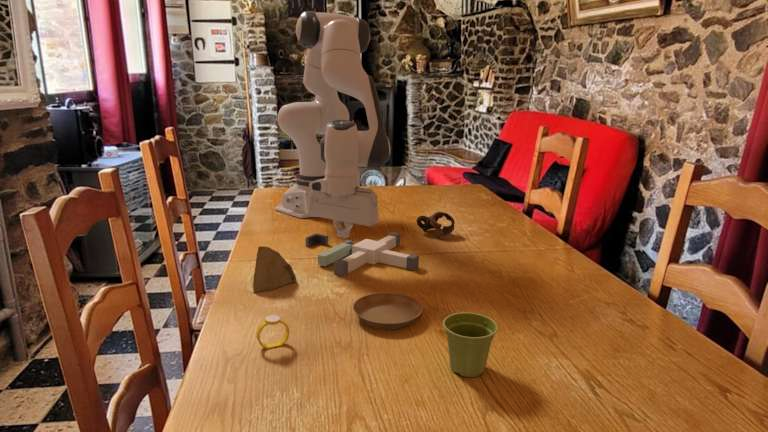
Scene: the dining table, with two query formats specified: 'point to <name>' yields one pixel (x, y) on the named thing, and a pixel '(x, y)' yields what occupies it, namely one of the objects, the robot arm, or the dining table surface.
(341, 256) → the hinged leg
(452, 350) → the plant pot
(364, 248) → the stool base
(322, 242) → the leg socket
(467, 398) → the dining table surface
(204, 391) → the dining table surface
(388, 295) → the plant saucer
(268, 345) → the gold ring
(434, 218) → the pottery mug
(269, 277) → the rock
